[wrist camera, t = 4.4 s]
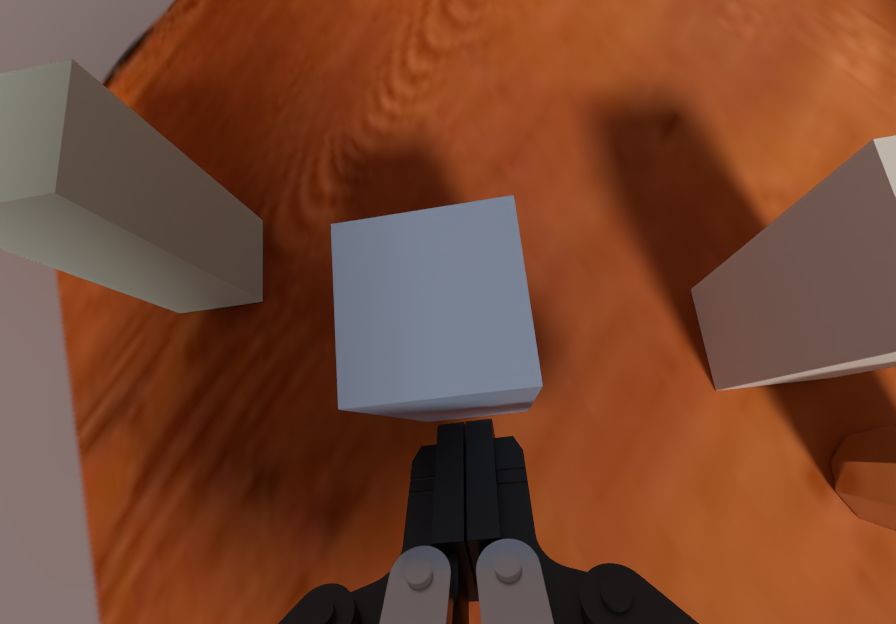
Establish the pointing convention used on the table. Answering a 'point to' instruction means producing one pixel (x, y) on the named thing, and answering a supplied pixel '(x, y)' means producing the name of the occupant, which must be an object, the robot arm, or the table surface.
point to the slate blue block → (434, 314)
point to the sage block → (117, 197)
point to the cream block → (810, 284)
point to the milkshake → (868, 475)
